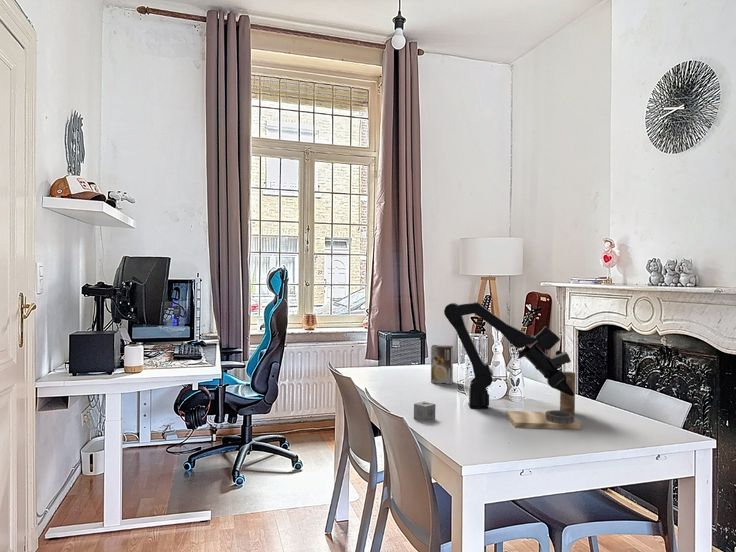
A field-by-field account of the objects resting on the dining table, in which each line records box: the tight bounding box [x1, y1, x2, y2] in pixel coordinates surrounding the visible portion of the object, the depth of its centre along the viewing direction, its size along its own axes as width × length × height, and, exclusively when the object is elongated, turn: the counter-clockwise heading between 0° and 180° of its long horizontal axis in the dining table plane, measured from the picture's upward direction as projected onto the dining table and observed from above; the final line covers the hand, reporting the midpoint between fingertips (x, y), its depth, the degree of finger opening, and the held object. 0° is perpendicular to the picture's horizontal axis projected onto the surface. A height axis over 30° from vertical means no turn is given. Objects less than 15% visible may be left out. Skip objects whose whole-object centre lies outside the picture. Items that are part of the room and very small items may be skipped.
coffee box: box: [430, 344, 454, 385], centre depth 231 cm, size 9×6×16 cm
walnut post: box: [559, 371, 576, 416], centre depth 183 cm, size 5×5×14 cm
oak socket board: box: [505, 409, 581, 430], centre depth 171 cm, size 20×14×4 cm
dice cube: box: [413, 401, 436, 423], centre depth 173 cm, size 5×5×5 cm
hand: (571, 392), depth 182 cm, fingers open, 9 cm apart
